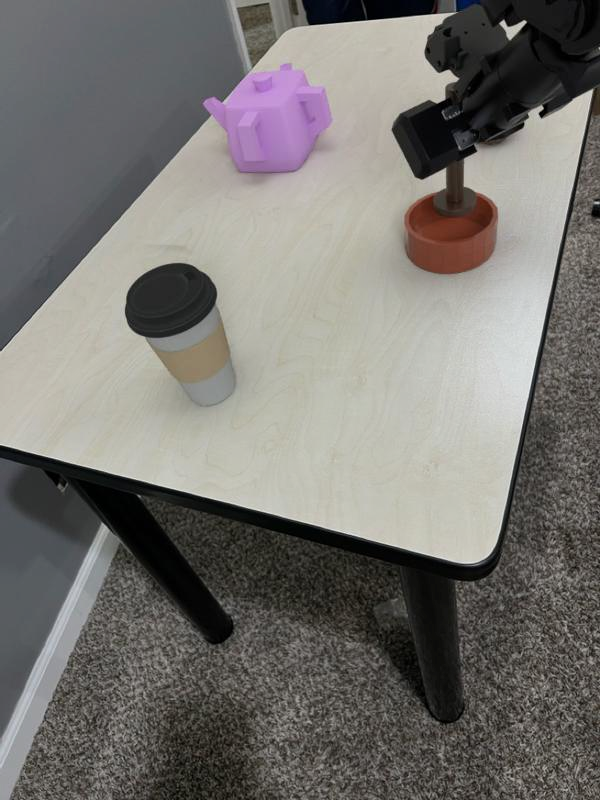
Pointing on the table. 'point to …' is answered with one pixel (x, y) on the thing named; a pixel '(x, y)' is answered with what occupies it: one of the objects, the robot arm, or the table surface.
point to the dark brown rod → (454, 183)
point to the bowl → (450, 236)
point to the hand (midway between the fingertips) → (447, 146)
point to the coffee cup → (184, 329)
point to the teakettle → (272, 120)
